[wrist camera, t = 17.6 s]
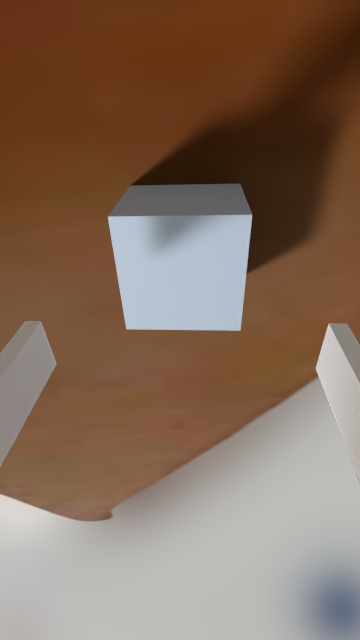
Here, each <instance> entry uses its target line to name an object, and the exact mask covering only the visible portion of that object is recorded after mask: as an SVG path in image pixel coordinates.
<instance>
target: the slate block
mask: <svg viewBox="0 0 360 640" xmlns="http://www.w3.org/2000/svg"><path fill="white" fill-rule="evenodd" d="M108 221H109V227H110V233H111V239H112V245H113V251H114V257H115V263H116V269H117V275H118V281H119V287H120V293H121V299H122V306H123V312H124V318H125V324H126V329H153V330H240V329H241V320H242V310H243V300H244V291H245V281H246V271H247V262H248V252H249V242H250V233H251V223H252V213H251V210H250V207H249V205H248V202H247V200H246V197H245V195H244V192H243V189H242V187H241V184H190V185H136V186H130V187H129V188H128V189H127V191H126V192H125V194H124V195H123V196H122V198H121V199H120V200H119V202H118V203H117V205H116V206H115V207H114V209H113V210H112V212H111V213H110V214H109V216H108Z"/></svg>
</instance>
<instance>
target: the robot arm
mask: <svg viewBox="0 0 360 640" xmlns="http://www.w3.org/2000/svg"><path fill="white" fill-rule="evenodd" d="M56 364H57V363H56V361H55V358H54V355H53V353H52V350H51V347H50V344H49V342H48V339H47V336H46V334H45V331H44V328H43V326H42V323H41V321H25V322H24V324H23V325H22V326H21V327H20V329H19V330H18V331H17V333H16V334H15V335H14V336H13V338H12V339H11V340H10V342H9V343H8V344H7V345H6V347H5V348H4V349H3V350H2V352H1V353H0V467H1V465H2V463H3V461H4V459H5V457H6V456H7V454H8V452H9V450H10V448H11V446H12V445H13V443H14V441H15V439H16V437H17V435H18V434H19V432H20V430H21V428H22V426H23V425H24V423H25V421H26V419H27V417H28V415H29V414H30V412H31V410H32V408H33V406H34V404H35V403H36V401H37V399H38V397H39V395H40V393H41V392H42V390H43V388H44V386H45V384H46V382H47V381H48V379H49V377H50V375H51V373H52V372H53V370H54V368H55V366H56ZM316 371H317V373H318V376H319V378H320V381H321V384H322V386H323V388H324V391H325V394H326V397H327V399H328V402H329V404H330V407H331V410H332V412H333V415H334V417H335V420H336V423H337V425H338V428H339V430H340V433H341V435H342V438H343V441H344V443H345V446H346V448H347V451H348V453H349V456H350V459H351V461H352V464H353V466H354V469H355V472H356V474H357V477H358V480H359V482H360V345H359V343H358V341H357V340H356V338H355V336H354V335H353V333H352V331H351V330H350V328H349V326H348V324H339V323H329V324H328V328H327V331H326V335H325V338H324V342H323V345H322V349H321V352H320V356H319V359H318V363H317V366H316Z"/></svg>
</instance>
